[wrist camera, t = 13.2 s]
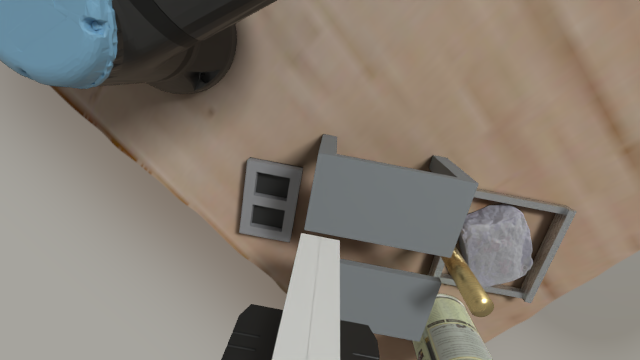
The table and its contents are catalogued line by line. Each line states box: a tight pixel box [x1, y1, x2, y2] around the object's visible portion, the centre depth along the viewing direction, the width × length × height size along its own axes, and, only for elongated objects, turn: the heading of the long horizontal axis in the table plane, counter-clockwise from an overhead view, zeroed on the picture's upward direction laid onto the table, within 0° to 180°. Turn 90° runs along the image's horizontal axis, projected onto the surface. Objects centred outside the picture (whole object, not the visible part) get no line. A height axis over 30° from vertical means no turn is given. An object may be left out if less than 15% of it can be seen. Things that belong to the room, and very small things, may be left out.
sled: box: [428, 189, 576, 317], centre depth 41 cm, size 16×18×17 cm
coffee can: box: [412, 294, 493, 360], centre depth 48 cm, size 10×10×14 cm
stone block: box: [458, 204, 533, 288], centre depth 48 cm, size 12×5×10 cm
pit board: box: [239, 157, 303, 242], centre depth 49 cm, size 12×8×2 cm, turn 170°
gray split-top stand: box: [304, 134, 478, 342], centre depth 44 cm, size 23×18×11 cm
